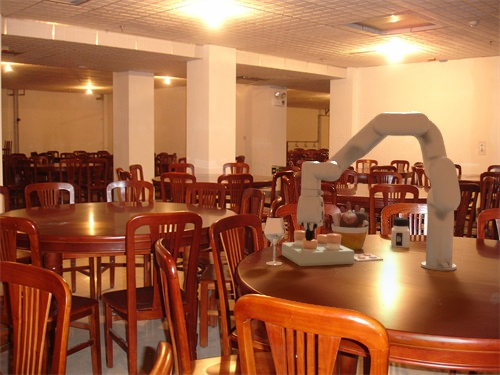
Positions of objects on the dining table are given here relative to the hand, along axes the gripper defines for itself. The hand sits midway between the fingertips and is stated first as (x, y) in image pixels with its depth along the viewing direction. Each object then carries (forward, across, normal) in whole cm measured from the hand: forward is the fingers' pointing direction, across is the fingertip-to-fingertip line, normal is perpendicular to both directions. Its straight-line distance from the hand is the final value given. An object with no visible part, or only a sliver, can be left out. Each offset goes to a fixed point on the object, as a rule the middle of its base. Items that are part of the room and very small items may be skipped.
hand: (309, 240), depth 214 cm
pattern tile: (+8, -16, -20) cm, 27 cm away
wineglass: (+9, +10, +10) cm, 17 cm away
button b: (+7, 0, -14) cm, 16 cm away
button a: (+5, -7, -7) cm, 11 cm away
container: (+9, -21, -56) cm, 60 cm away
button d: (+5, +7, -7) cm, 11 cm away
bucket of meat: (+9, -3, -38) cm, 39 cm away
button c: (+7, 0, 0) cm, 7 cm away
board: (+9, 0, -7) cm, 11 cm away
